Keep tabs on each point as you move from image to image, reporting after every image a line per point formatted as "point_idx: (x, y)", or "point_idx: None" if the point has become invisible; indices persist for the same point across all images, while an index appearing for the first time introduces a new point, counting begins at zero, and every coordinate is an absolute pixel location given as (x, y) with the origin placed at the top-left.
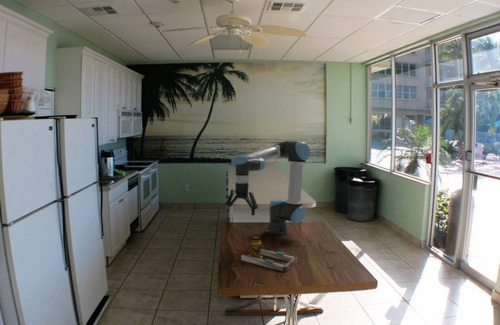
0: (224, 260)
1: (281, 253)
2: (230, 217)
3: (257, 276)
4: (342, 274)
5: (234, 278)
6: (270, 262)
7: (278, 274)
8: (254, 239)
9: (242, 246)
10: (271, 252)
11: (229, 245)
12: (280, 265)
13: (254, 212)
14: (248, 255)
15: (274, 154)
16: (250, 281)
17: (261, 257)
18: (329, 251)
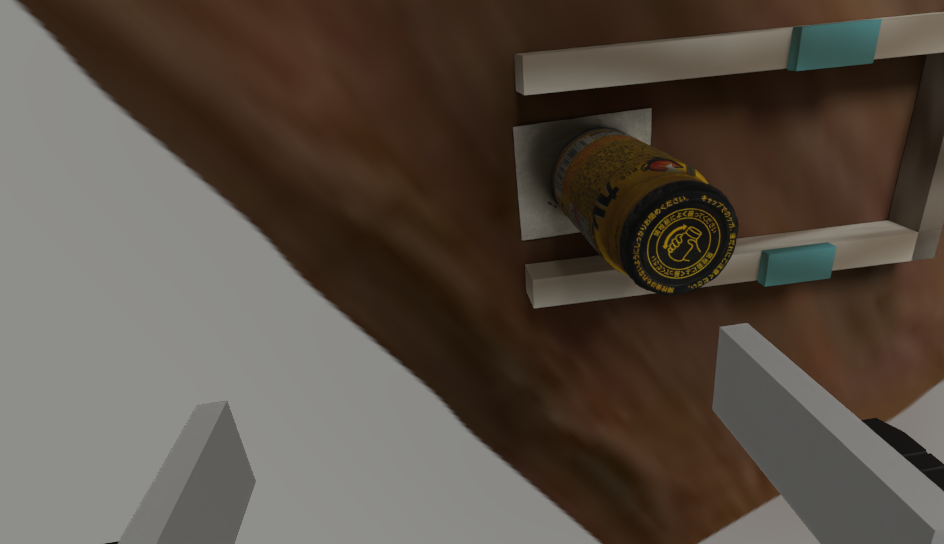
0: (425, 372)
1: (856, 51)
2: (247, 484)
3: None
4: None
5: (643, 492)
6: (813, 278)
7: (864, 302)
8: (688, 289)
9: (315, 14)
10: (736, 62)
11: (185, 89)
12: (889, 255)
13: (941, 479)
14: (521, 180)
15: None
16: (739, 463)
17: (643, 141)
18: None
